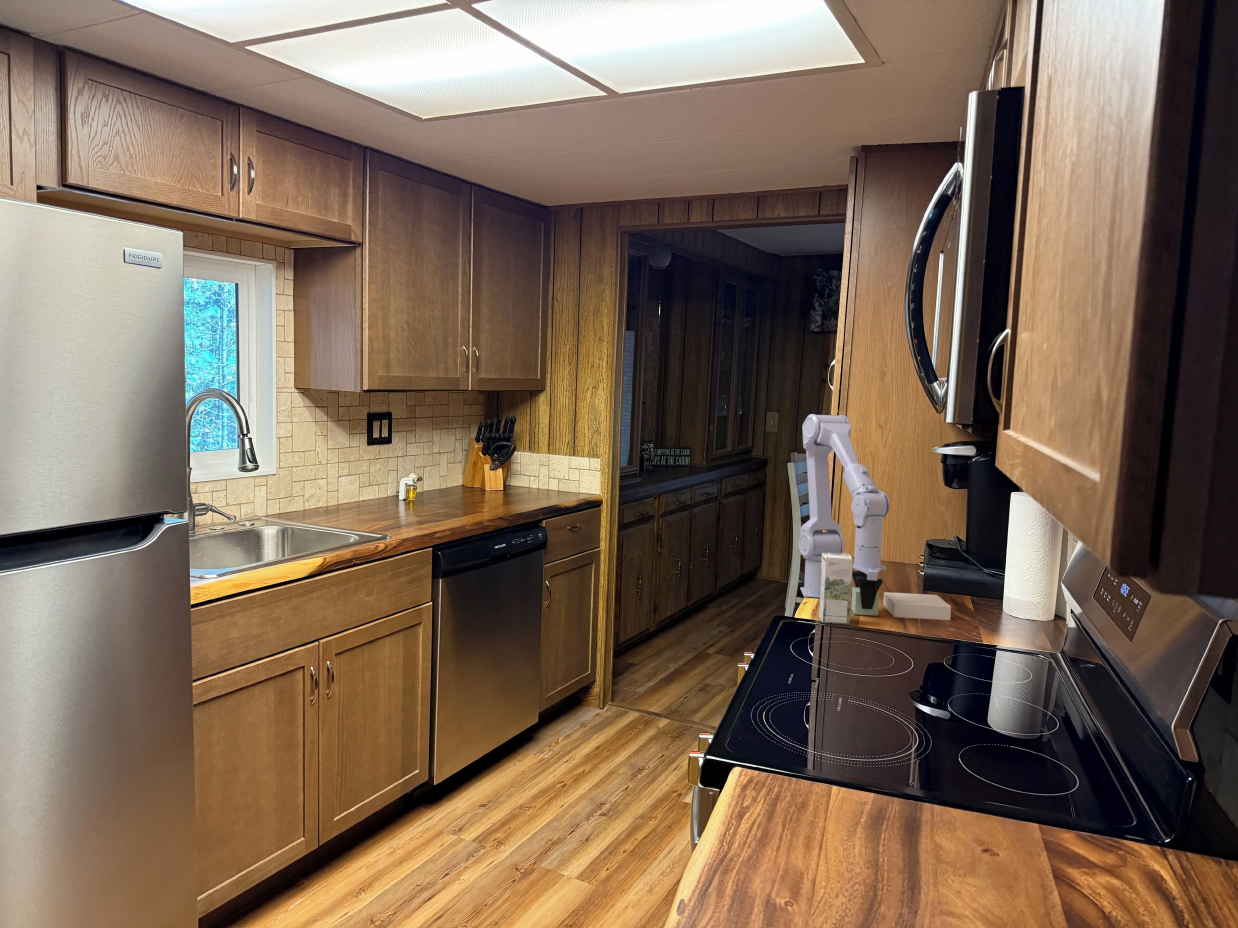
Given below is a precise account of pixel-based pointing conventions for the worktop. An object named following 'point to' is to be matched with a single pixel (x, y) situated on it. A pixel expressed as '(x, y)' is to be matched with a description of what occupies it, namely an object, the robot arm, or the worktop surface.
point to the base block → (916, 606)
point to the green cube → (857, 605)
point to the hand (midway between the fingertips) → (864, 605)
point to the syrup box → (835, 588)
